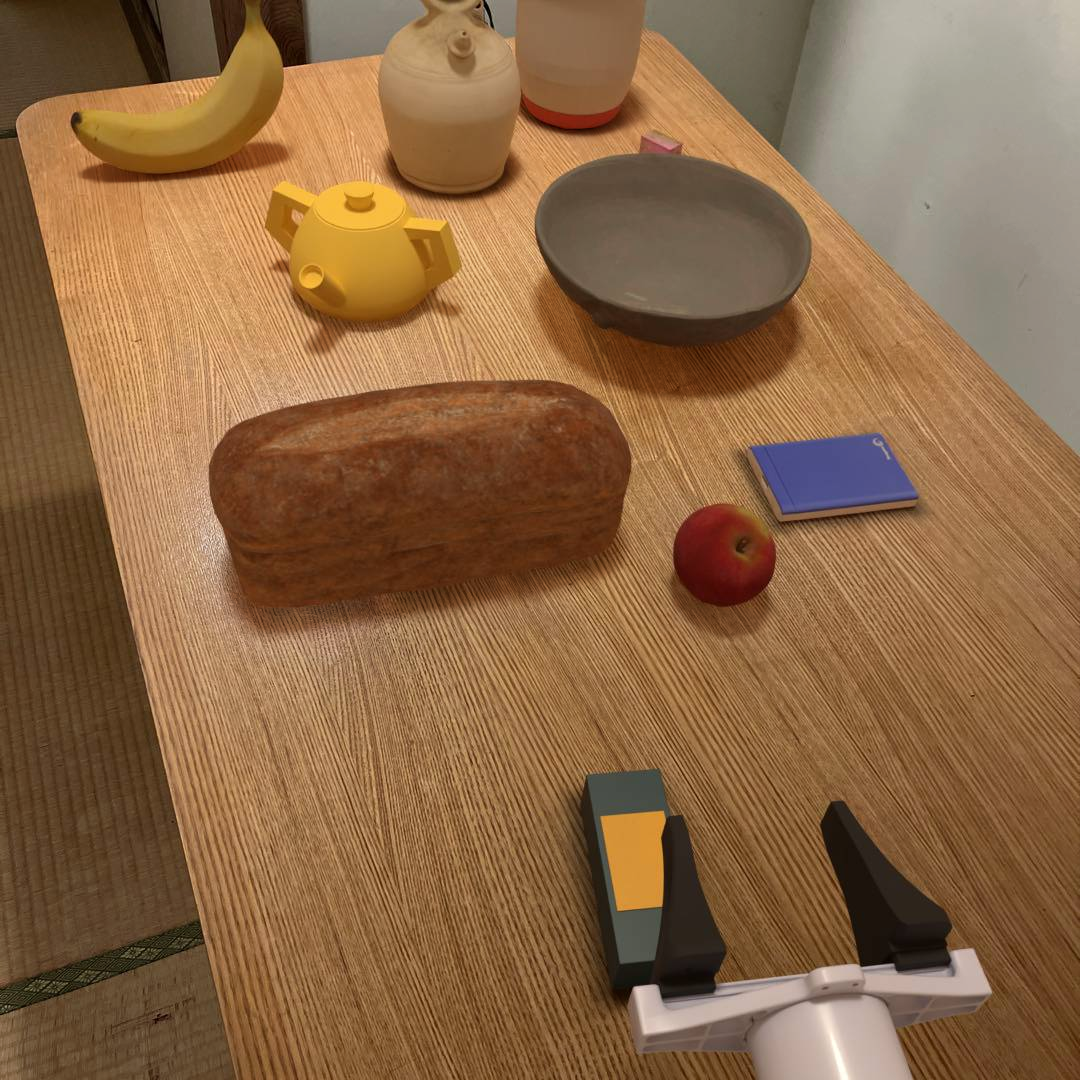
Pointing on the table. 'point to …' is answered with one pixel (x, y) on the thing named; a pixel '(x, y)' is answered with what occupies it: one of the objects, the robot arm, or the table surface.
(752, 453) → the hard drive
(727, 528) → the apple
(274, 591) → the bread
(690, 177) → the bowl
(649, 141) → the perfume bottle
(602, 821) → the packet
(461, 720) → the table surface
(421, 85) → the jug
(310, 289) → the teapot
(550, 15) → the citrus juicer
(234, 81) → the banana
